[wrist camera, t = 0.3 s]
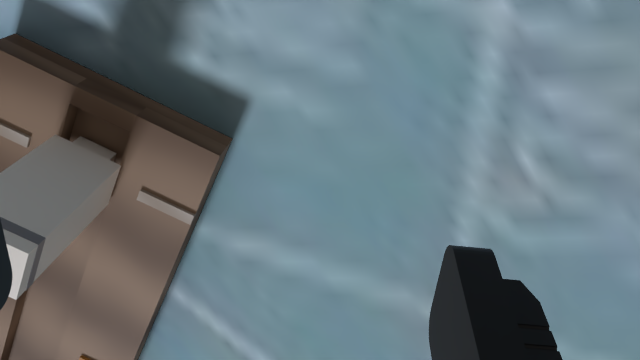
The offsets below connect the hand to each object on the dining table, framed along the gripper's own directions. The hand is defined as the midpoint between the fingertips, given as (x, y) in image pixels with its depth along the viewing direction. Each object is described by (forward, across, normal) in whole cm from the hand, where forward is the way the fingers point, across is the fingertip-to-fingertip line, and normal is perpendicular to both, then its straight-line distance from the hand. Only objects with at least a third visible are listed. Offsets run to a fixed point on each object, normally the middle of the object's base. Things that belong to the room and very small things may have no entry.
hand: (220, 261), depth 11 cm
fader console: (+19, +13, +17) cm, 29 cm away
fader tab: (+18, +10, +9) cm, 23 cm away
